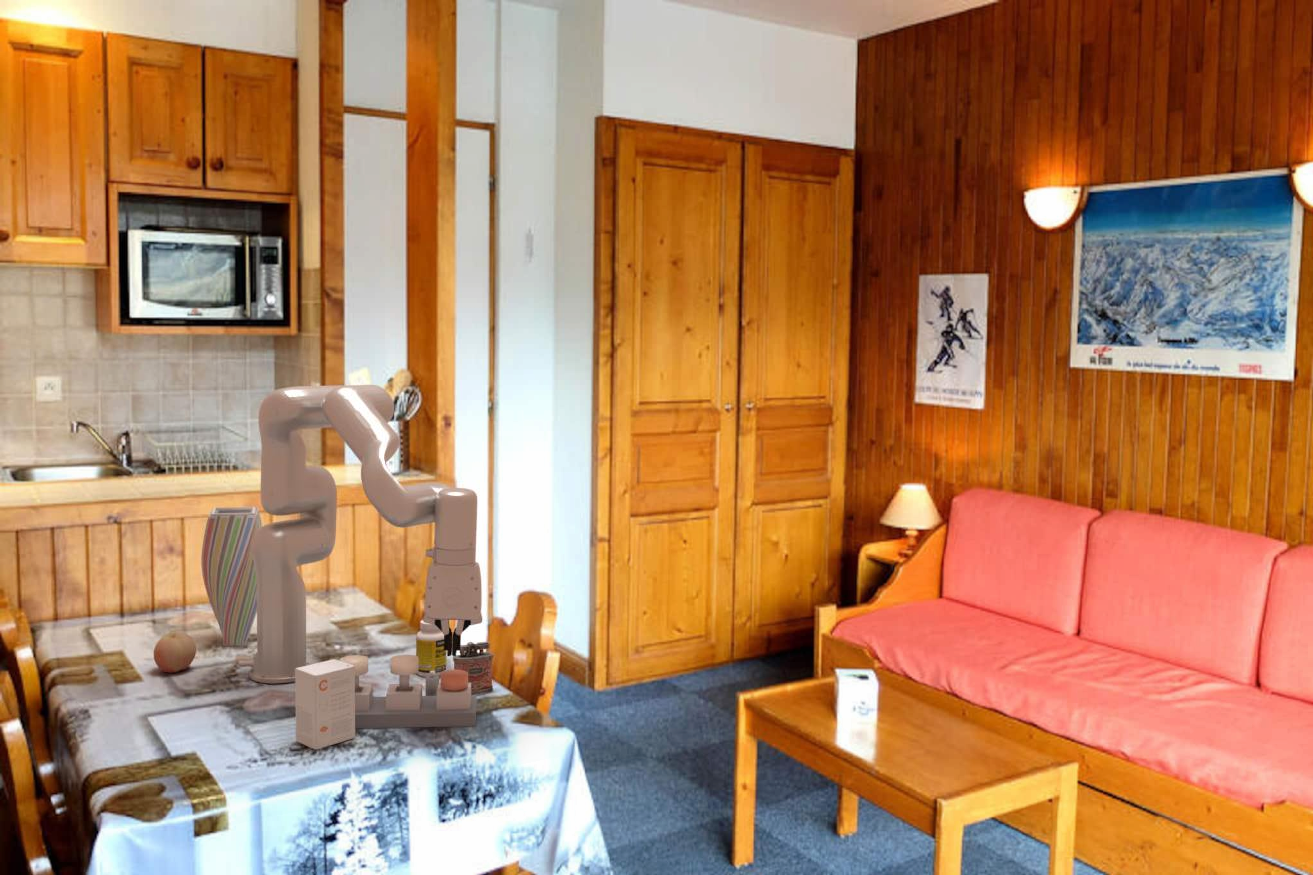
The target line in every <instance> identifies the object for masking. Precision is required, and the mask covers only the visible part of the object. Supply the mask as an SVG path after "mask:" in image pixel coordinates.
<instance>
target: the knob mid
mask: <svg viewBox="0 0 1313 875" xmlns="http://www.w3.org/2000/svg"><path fill="white" fill-rule="evenodd" d="M389 661H390V666H389V668H390V674H392V675H395V676H399V678H398V680H399V683H398V684H399V688H401V689H407V688H409V684H410V676H411V675H414V674H417V672H418V657H417V656H416V654H415V655H414V654H399V655H394V656H392V657H390V660H389Z"/></svg>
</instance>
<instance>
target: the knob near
mask: <svg viewBox="0 0 1313 875" xmlns="http://www.w3.org/2000/svg"><path fill="white" fill-rule="evenodd" d="M339 661H342V662H345V663H348V664H351V665H353V666H355V689H358V688H359V684H360V676H364V675H366V674H368V672H369V657H368V656H366V655H362V654H353V655H345V656H342V657H341V658H339Z"/></svg>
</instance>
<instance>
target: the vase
mask: <svg viewBox="0 0 1313 875" xmlns="http://www.w3.org/2000/svg"><path fill="white" fill-rule="evenodd" d="M260 514H261V513H260V510H259V508H258V507H256V506H237V507H235V506H233V507H213V508H212V509H211V511H210V512H209V514H208V517H207V521H206V526H205V530H204V533H203V534H204V536H203V542H202V549H201V555H200V556H201V560H200V562H201V563H200V564H201V573H202V574H201V575H202V578H203V584H204V588H205V592H206V595H207V598H208V601H209V604H210V605H211V606H210V607H211V609H212V611H213V614H214V616H215V619H216V622H217V625H218V627H219V630H220V632H221V637H222V646H223V647H229V646H230V647H231V646H232V647H233V646H246V645H247V643H248V639H249V635H250V633H251V630H252V627H253V624H254V622H255V618H256V617H257V586H256V574H255V567H254V562H253V558H252V553H251V541H252V538H253V536H254V534H255V533H256V531H257V530H259V529H260V528H261V527H263V524H262V518H261V515H260Z"/></svg>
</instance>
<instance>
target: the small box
mask: <svg viewBox="0 0 1313 875" xmlns="http://www.w3.org/2000/svg"><path fill="white" fill-rule="evenodd" d="M310 664H311V663H310ZM294 683H295V684H294V686H295V690H294V691H295V692H294V693H295V741H296V742H297V743H299V744H302V745H303V746H305V747H306V746H307V747H309V748H311V749H314V750H315V751H316V750H317V751H318V750H320V749H323V748H326V747H329V746H332V745H333V746H334V745H336V744H338V743H339V744H340V743H342V742H346V741H350V740H351V739H355V738H356V728H355V666H353V665H351V664H348V663H345V662H342V661H340V659H335V658H332V659H329V660H325V661H320V662H316V663H312V664H311V665H307V666H303V667H299V668H295V682H294Z"/></svg>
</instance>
